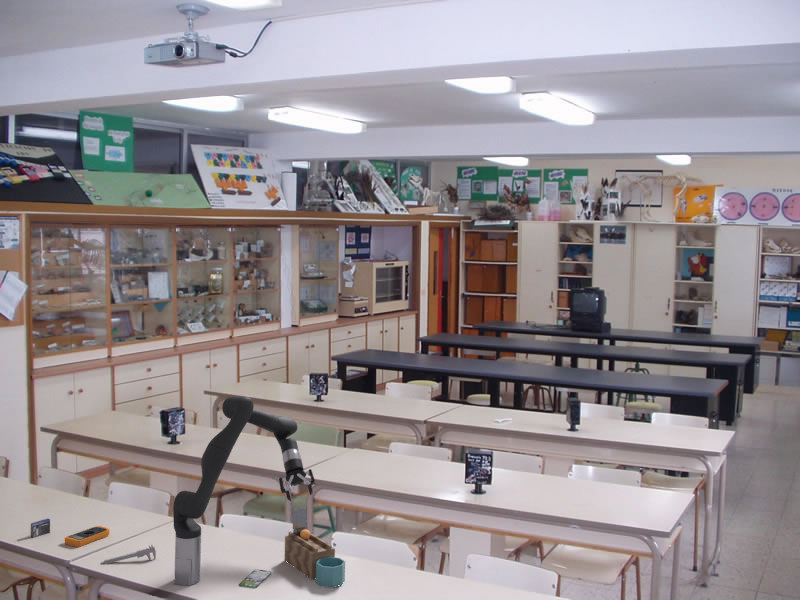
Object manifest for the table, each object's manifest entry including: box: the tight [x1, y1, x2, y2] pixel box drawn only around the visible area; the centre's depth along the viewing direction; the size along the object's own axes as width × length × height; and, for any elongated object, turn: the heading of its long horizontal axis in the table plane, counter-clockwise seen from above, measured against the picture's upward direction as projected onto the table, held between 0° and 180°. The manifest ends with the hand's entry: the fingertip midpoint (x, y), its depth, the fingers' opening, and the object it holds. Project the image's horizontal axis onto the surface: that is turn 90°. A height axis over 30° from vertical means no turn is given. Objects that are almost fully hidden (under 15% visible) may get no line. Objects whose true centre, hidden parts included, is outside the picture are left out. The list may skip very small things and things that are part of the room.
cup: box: [315, 556, 346, 588], centre depth 301 cm, size 10×10×8 cm
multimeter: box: [64, 525, 110, 548], centre depth 336 cm, size 9×18×3 cm, turn 153°
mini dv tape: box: [30, 518, 51, 539], centre depth 340 cm, size 8×2×6 cm, turn 150°
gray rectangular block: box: [292, 506, 308, 537], centre depth 320 cm, size 3×5×11 cm, turn 126°
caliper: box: [100, 544, 157, 565], centre depth 314 cm, size 20×1×6 cm, turn 108°
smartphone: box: [238, 569, 273, 589], centre depth 301 cm, size 7×1×15 cm
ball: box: [300, 529, 311, 540], centre depth 316 cm, size 4×4×4 cm
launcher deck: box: [283, 531, 336, 580], centre depth 314 cm, size 22×10×12 cm, turn 36°
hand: (300, 497), depth 324 cm, fingers open, 8 cm apart
